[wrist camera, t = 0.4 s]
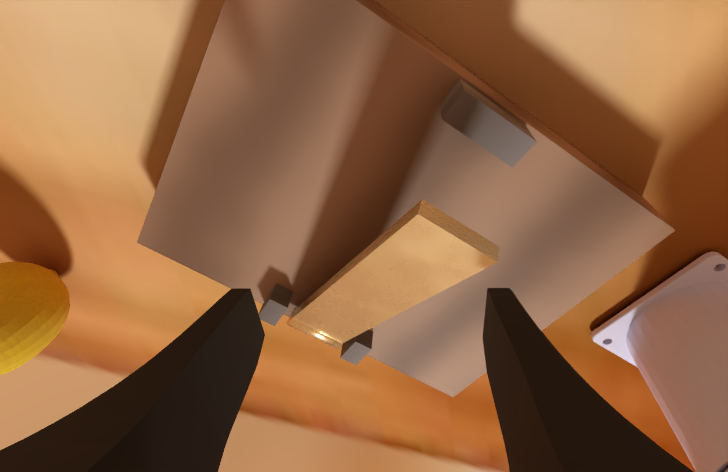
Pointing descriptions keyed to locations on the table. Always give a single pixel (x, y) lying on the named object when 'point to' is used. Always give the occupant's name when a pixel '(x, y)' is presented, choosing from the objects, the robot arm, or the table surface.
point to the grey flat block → (379, 179)
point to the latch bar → (394, 275)
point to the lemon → (29, 311)
